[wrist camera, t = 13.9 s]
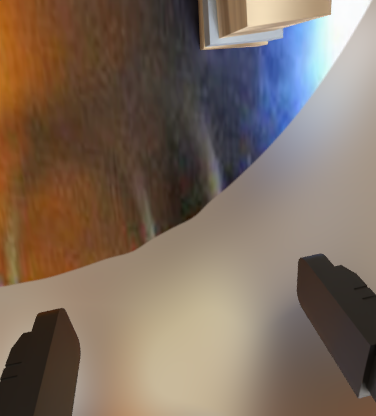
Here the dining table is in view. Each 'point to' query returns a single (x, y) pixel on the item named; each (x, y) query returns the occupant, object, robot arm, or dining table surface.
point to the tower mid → (213, 37)
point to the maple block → (266, 15)
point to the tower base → (202, 45)
